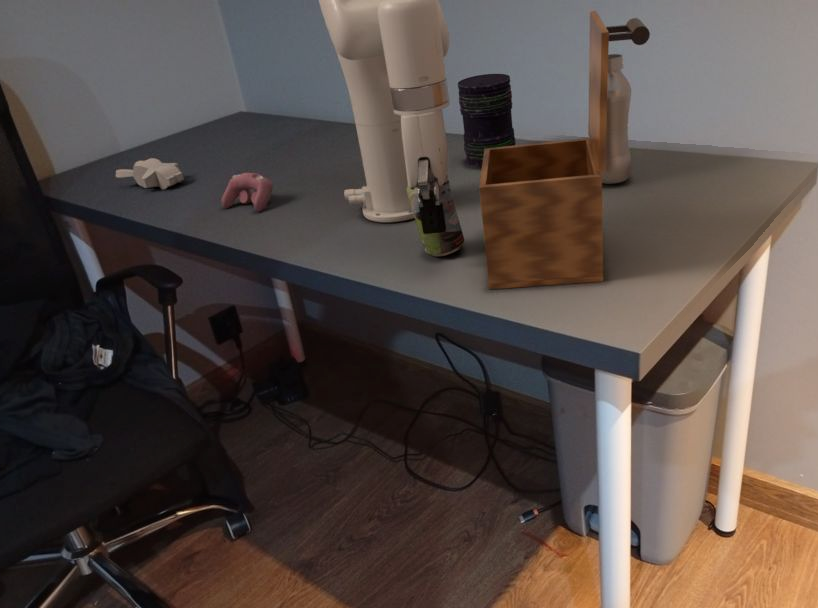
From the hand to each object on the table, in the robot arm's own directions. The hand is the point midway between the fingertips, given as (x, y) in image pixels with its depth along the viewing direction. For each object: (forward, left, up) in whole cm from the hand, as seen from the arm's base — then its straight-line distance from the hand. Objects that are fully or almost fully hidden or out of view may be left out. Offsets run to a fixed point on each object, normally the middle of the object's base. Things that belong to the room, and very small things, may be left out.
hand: (438, 219), depth 105 cm
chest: (+15, -5, -5) cm, 16 cm away
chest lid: (+22, -5, +17) cm, 28 cm away
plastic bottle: (+27, +24, -6) cm, 36 cm away
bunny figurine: (-67, +48, -6) cm, 83 cm away
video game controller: (-39, +29, -6) cm, 49 cm away
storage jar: (+6, +42, -6) cm, 43 cm away
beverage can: (0, +1, -6) cm, 6 cm away
